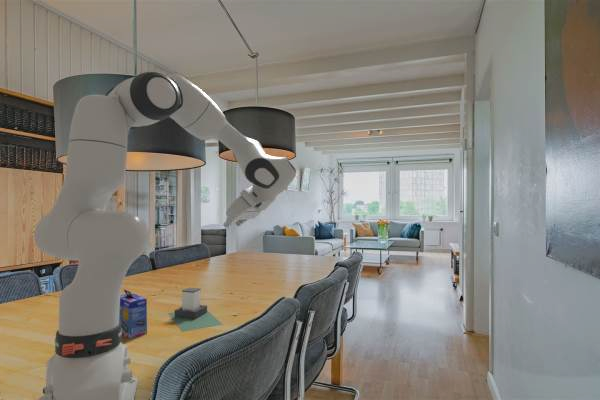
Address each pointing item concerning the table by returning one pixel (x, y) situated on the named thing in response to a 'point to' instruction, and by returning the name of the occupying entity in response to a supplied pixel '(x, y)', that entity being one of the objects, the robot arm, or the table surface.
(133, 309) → the ink cartridge box
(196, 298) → the plug
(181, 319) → the board
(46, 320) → the table surface
